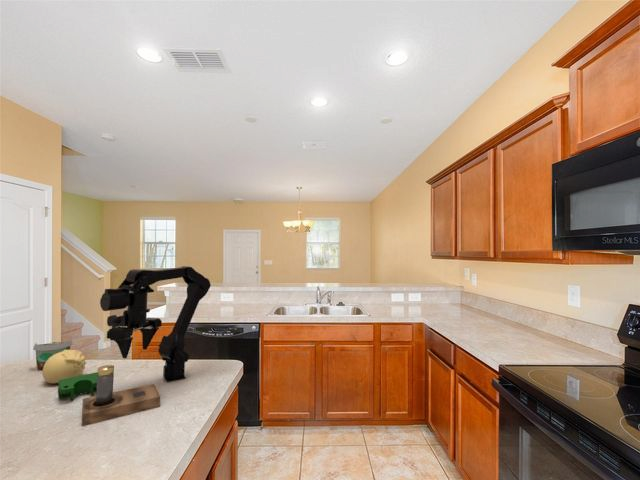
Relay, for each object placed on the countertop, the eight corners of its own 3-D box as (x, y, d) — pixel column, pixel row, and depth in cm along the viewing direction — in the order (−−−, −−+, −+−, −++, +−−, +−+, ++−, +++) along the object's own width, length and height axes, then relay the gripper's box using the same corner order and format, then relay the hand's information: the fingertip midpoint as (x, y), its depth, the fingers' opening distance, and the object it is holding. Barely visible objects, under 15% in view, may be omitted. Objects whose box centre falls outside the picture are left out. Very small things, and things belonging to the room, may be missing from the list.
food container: (26, 373, 117) (28, 347, 118) (32, 368, 123) (34, 342, 123) (67, 368, 123) (69, 343, 124) (71, 363, 129) (73, 339, 129)
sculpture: (83, 382, 111) (85, 352, 111) (39, 390, 104) (41, 357, 105) (85, 372, 120) (87, 343, 121) (44, 378, 114) (46, 348, 114)
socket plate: (153, 393, 104) (154, 383, 104) (159, 406, 95) (160, 396, 95) (82, 409, 93) (82, 398, 93) (81, 425, 84) (82, 414, 84)
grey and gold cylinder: (111, 407, 94) (113, 364, 94) (112, 413, 91) (114, 368, 91) (95, 411, 92) (97, 366, 92) (95, 417, 88) (97, 371, 89)
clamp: (66, 415, 97) (53, 394, 94) (64, 403, 102) (52, 383, 98) (109, 391, 105) (99, 370, 101) (106, 381, 109) (96, 361, 105)
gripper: (135, 301, 115) (133, 344, 115) (92, 310, 97) (89, 361, 96) (163, 302, 114) (161, 346, 113) (124, 312, 95) (122, 364, 95)
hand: (135, 353), depth 104 cm, fingers open, 9 cm apart
